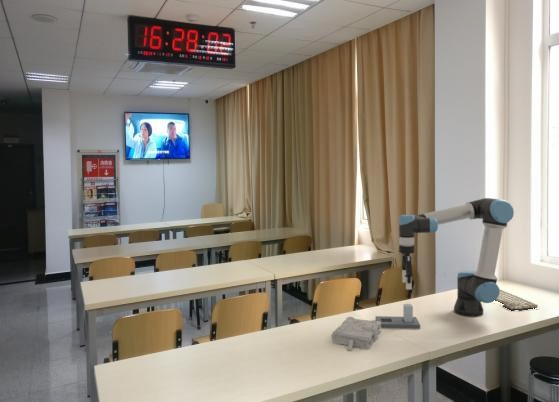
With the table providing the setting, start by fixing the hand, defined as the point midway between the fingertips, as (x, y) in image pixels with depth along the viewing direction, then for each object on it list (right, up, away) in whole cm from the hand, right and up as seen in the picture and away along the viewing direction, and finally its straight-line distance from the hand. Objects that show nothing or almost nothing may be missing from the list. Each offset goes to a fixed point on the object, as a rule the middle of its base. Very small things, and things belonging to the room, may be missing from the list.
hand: (406, 285), depth 231 cm
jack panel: (-5, -21, +2) cm, 21 cm away
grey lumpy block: (-29, -23, -17) cm, 41 cm away
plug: (+1, -20, +1) cm, 20 cm away
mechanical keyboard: (+70, -17, +39) cm, 82 cm away
